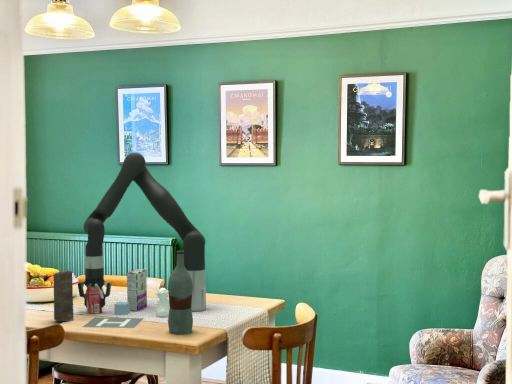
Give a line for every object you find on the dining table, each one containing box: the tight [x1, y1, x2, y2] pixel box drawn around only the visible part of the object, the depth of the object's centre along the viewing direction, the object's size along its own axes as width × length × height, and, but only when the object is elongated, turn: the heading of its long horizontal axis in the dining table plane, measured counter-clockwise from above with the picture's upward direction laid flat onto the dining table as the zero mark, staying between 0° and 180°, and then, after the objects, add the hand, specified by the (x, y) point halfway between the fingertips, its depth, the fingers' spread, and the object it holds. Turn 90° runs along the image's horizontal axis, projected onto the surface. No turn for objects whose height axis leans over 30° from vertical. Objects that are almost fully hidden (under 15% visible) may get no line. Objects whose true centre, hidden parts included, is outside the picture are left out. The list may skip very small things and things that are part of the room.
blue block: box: [114, 301, 131, 316], centre depth 273 cm, size 5×5×5 cm
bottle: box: [167, 250, 194, 335], centre depth 244 cm, size 9×9×30 cm
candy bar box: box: [126, 268, 148, 312], centre depth 285 cm, size 11×5×16 cm, turn 168°
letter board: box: [82, 317, 145, 329], centre depth 257 cm, size 20×16×1 cm
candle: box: [53, 270, 74, 322], centre depth 261 cm, size 8×7×20 cm
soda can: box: [86, 286, 103, 315], centre depth 274 cm, size 6×6×12 cm
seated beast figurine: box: [154, 287, 170, 318], centre depth 269 cm, size 10×9×12 cm
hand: (94, 306), depth 274 cm, fingers closed on soda can, 5 cm apart
